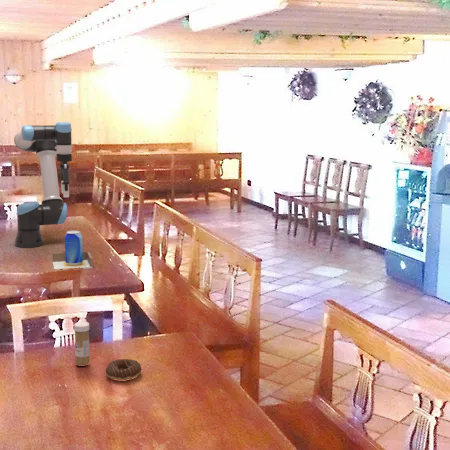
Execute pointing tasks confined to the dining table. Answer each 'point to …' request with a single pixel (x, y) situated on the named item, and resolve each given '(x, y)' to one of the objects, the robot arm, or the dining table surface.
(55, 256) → the tray
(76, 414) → the dining table surface
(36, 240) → the robot arm
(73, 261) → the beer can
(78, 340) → the sprinkles bottle
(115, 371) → the donut
